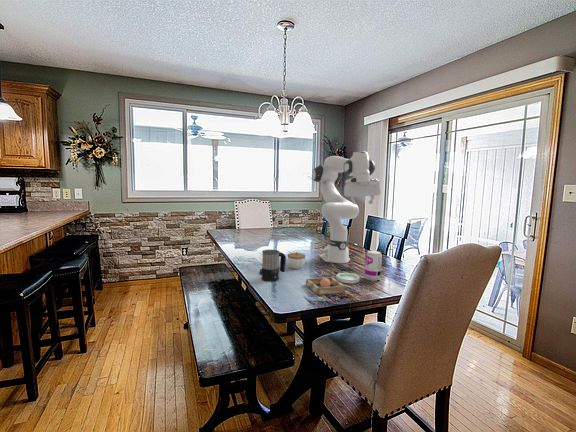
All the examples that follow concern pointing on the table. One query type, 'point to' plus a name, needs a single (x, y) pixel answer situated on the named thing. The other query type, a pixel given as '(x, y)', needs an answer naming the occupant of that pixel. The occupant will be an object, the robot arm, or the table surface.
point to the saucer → (348, 278)
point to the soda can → (373, 265)
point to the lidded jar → (296, 260)
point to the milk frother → (272, 265)
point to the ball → (325, 282)
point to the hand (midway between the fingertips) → (362, 204)
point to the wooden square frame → (325, 290)
